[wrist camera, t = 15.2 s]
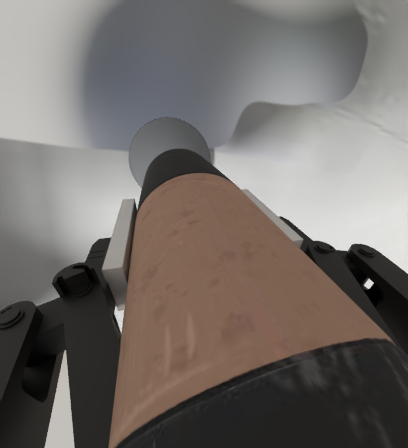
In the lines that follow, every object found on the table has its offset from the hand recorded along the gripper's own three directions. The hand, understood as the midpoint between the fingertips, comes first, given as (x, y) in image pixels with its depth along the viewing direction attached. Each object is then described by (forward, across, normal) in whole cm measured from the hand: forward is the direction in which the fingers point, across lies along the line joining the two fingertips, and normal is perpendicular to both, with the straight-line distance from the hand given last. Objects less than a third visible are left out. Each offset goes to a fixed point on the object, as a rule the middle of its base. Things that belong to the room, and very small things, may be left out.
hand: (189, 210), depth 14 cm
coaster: (+15, 0, 0) cm, 15 cm away
